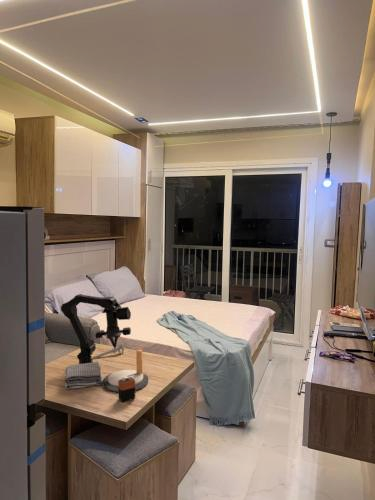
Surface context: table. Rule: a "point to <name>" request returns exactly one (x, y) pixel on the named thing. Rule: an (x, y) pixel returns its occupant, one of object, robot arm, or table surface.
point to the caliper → (110, 351)
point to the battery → (126, 389)
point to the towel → (83, 375)
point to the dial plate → (116, 389)
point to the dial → (128, 372)
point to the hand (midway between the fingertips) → (115, 347)
